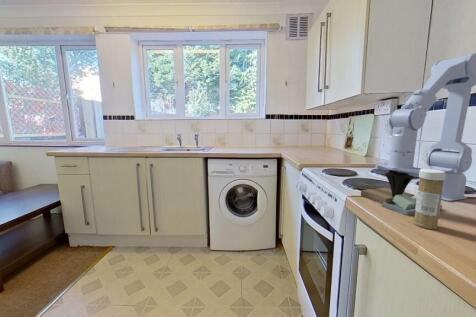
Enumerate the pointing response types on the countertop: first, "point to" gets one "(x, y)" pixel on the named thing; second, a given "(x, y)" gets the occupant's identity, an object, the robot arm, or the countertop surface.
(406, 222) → the countertop surface
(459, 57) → the robot arm
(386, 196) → the walnut board
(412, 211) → the tray
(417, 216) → the sprinkles bottle
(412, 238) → the countertop surface
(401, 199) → the green tile
